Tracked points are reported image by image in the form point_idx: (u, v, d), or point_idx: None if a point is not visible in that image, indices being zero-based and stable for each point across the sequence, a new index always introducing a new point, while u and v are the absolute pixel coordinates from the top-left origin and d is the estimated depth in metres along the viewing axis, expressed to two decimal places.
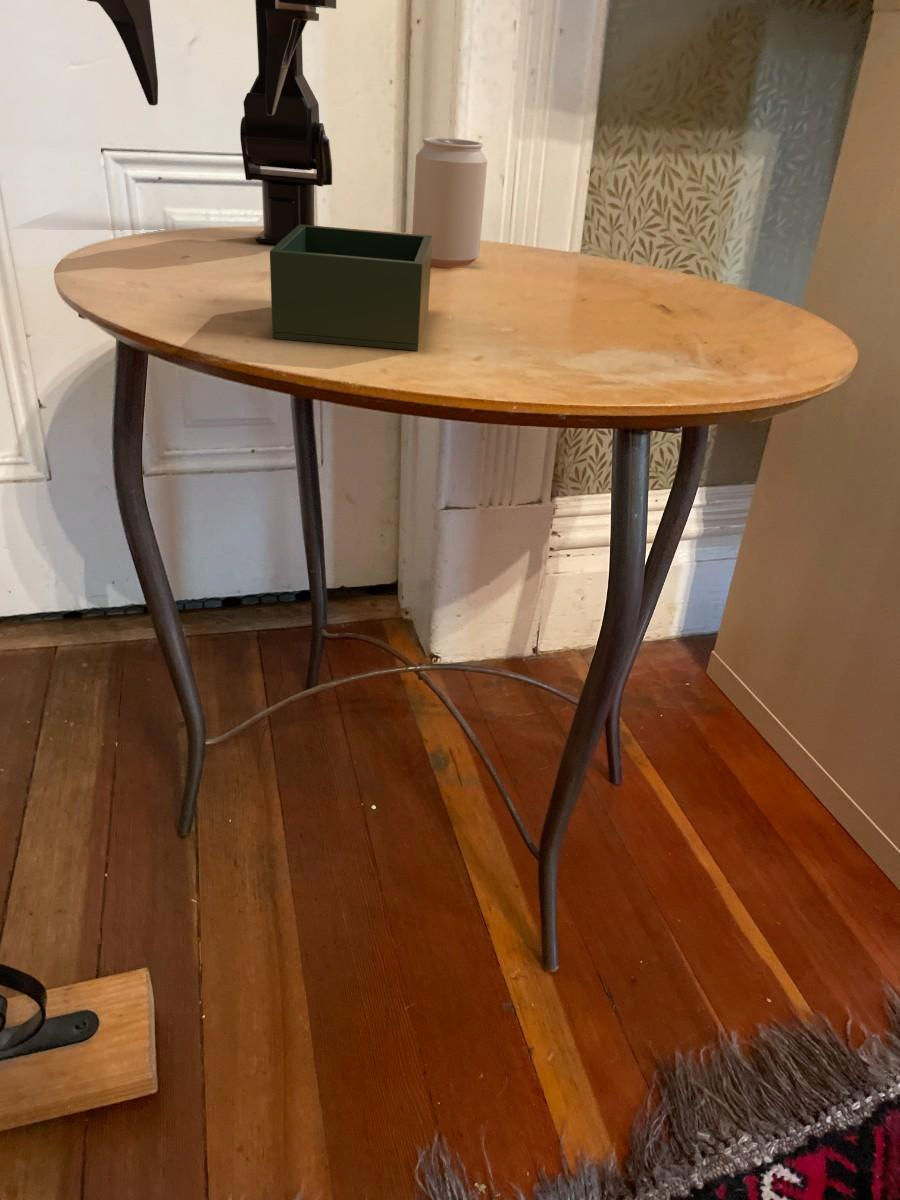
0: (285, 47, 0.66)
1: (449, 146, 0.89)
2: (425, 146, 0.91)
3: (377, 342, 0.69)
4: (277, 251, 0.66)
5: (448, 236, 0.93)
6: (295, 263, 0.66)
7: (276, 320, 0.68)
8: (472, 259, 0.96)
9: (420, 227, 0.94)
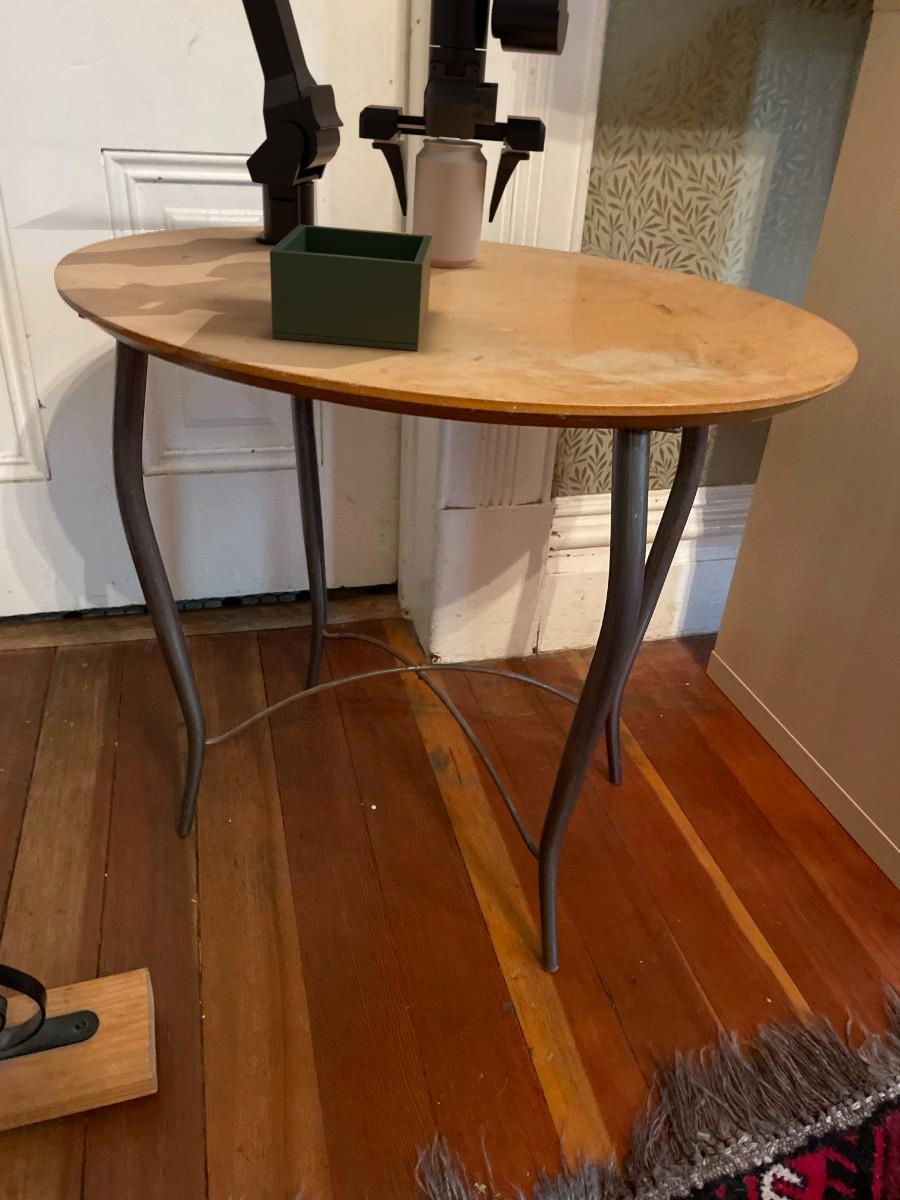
0: (509, 177, 0.92)
1: (449, 147, 0.89)
2: (425, 147, 0.91)
3: (377, 342, 0.69)
4: (277, 251, 0.66)
5: (448, 237, 0.93)
6: (295, 263, 0.66)
7: (276, 320, 0.68)
8: (472, 259, 0.96)
9: (420, 228, 0.94)
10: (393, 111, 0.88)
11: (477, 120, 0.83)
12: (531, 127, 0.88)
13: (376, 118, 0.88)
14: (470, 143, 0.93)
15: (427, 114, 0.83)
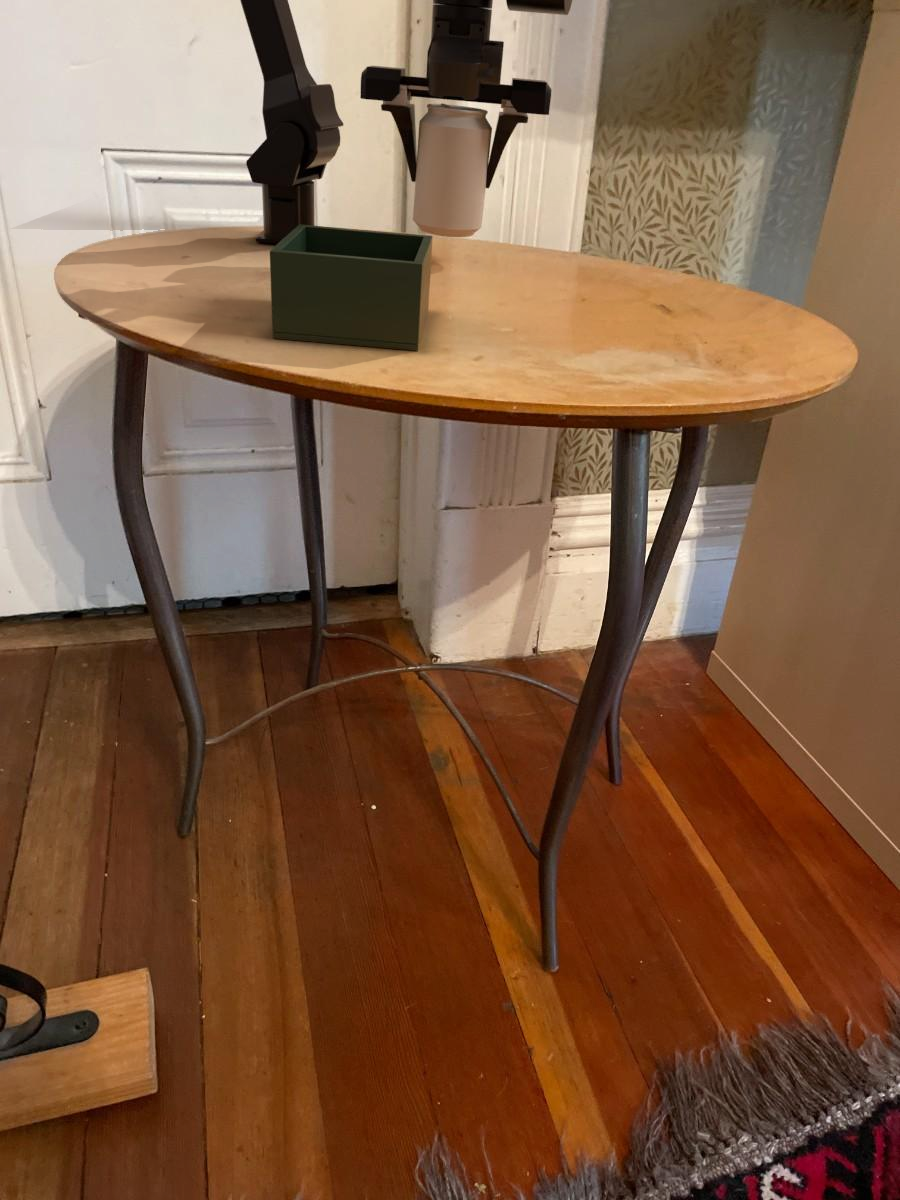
0: (507, 141, 0.90)
1: (454, 111, 0.87)
2: (429, 111, 0.89)
3: (377, 342, 0.69)
4: (277, 251, 0.66)
5: (450, 204, 0.91)
6: (295, 263, 0.66)
7: (276, 320, 0.68)
8: (474, 229, 0.94)
9: (422, 195, 0.92)
10: (396, 71, 0.86)
11: (482, 79, 0.81)
12: (536, 89, 0.86)
13: (378, 78, 0.86)
14: (475, 110, 0.92)
15: (431, 72, 0.81)
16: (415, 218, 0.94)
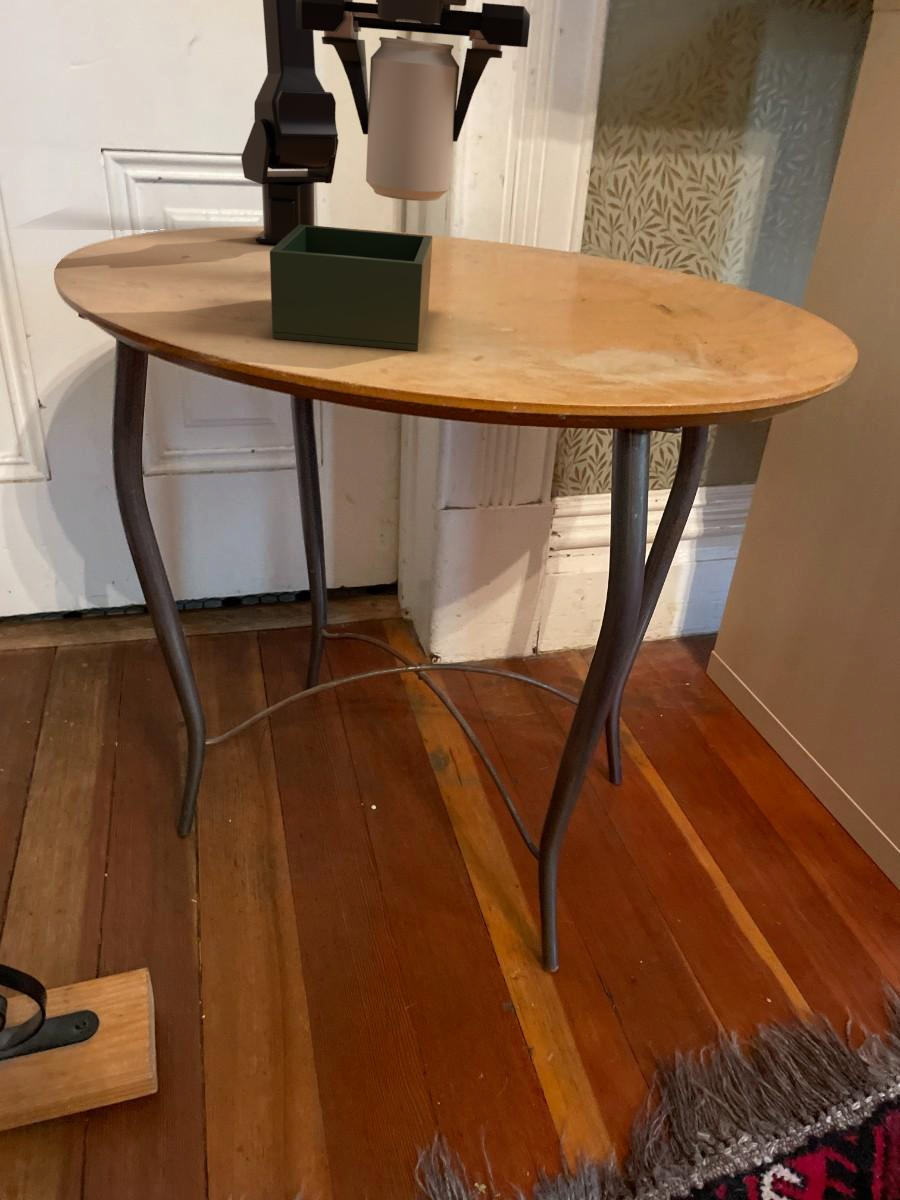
0: (477, 82, 0.74)
1: (412, 43, 0.71)
2: (382, 45, 0.73)
3: (377, 342, 0.69)
4: (277, 251, 0.66)
5: (410, 160, 0.75)
6: (295, 263, 0.66)
7: (276, 320, 0.68)
8: (440, 191, 0.78)
9: (375, 149, 0.76)
10: None
11: None
12: (512, 14, 0.70)
13: (317, 2, 0.70)
14: None
15: None
16: (368, 178, 0.78)
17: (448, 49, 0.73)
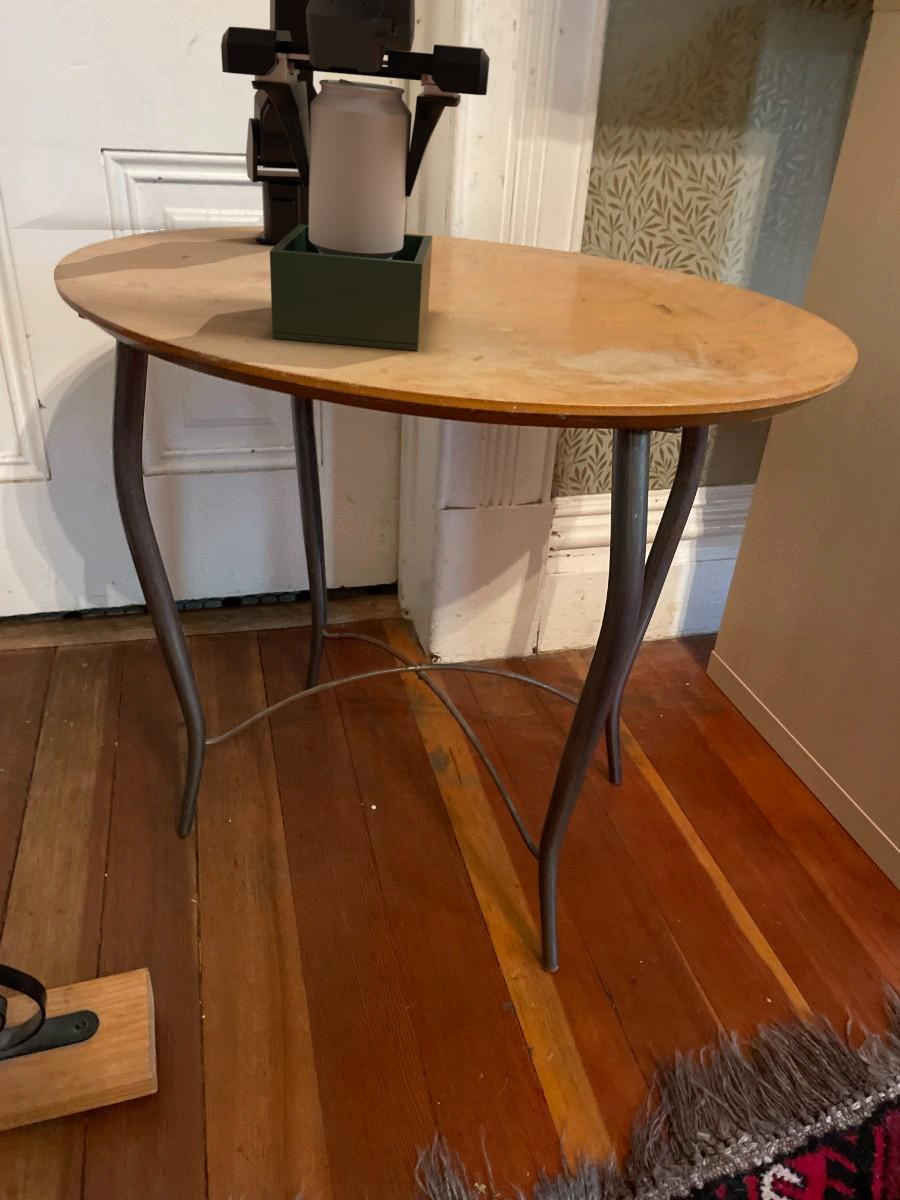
0: (430, 132, 0.65)
1: (353, 90, 0.62)
2: (322, 90, 0.64)
3: (377, 342, 0.69)
4: (277, 251, 0.66)
5: (354, 219, 0.66)
6: (295, 263, 0.66)
7: (276, 320, 0.68)
8: (391, 252, 0.69)
9: (316, 206, 0.67)
10: (269, 32, 0.61)
11: (382, 42, 0.57)
12: (467, 58, 0.61)
13: (245, 43, 0.61)
14: (389, 88, 0.67)
15: (309, 33, 0.57)
16: (310, 237, 0.69)
17: (397, 95, 0.64)
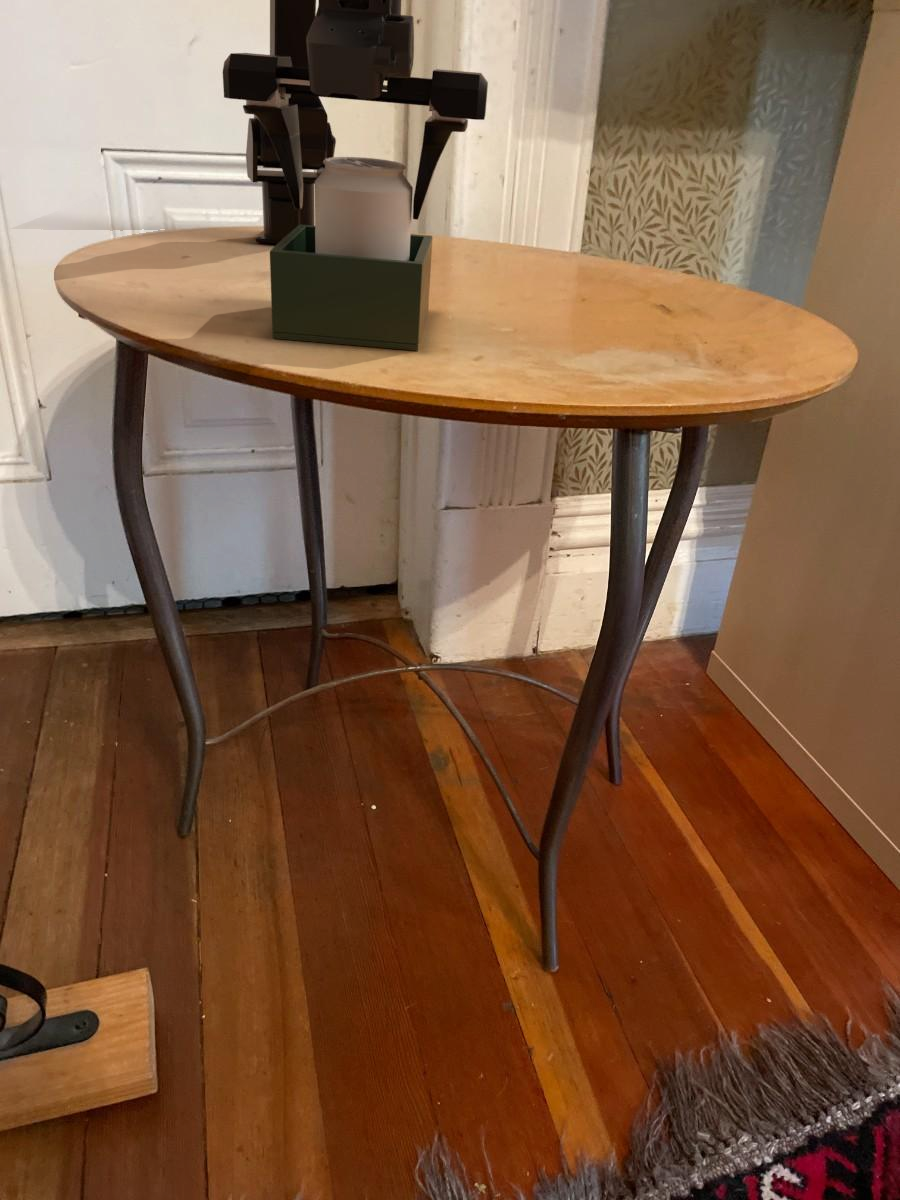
0: (438, 156, 0.66)
1: (356, 170, 0.65)
2: (326, 169, 0.67)
3: (377, 342, 0.69)
4: (277, 251, 0.66)
5: None
6: (295, 263, 0.66)
7: (276, 320, 0.68)
8: None
9: None
10: (270, 59, 0.62)
11: (382, 70, 0.57)
12: (466, 84, 0.62)
13: (246, 69, 0.62)
14: (390, 164, 0.69)
15: (310, 60, 0.57)
16: None
17: (398, 172, 0.67)
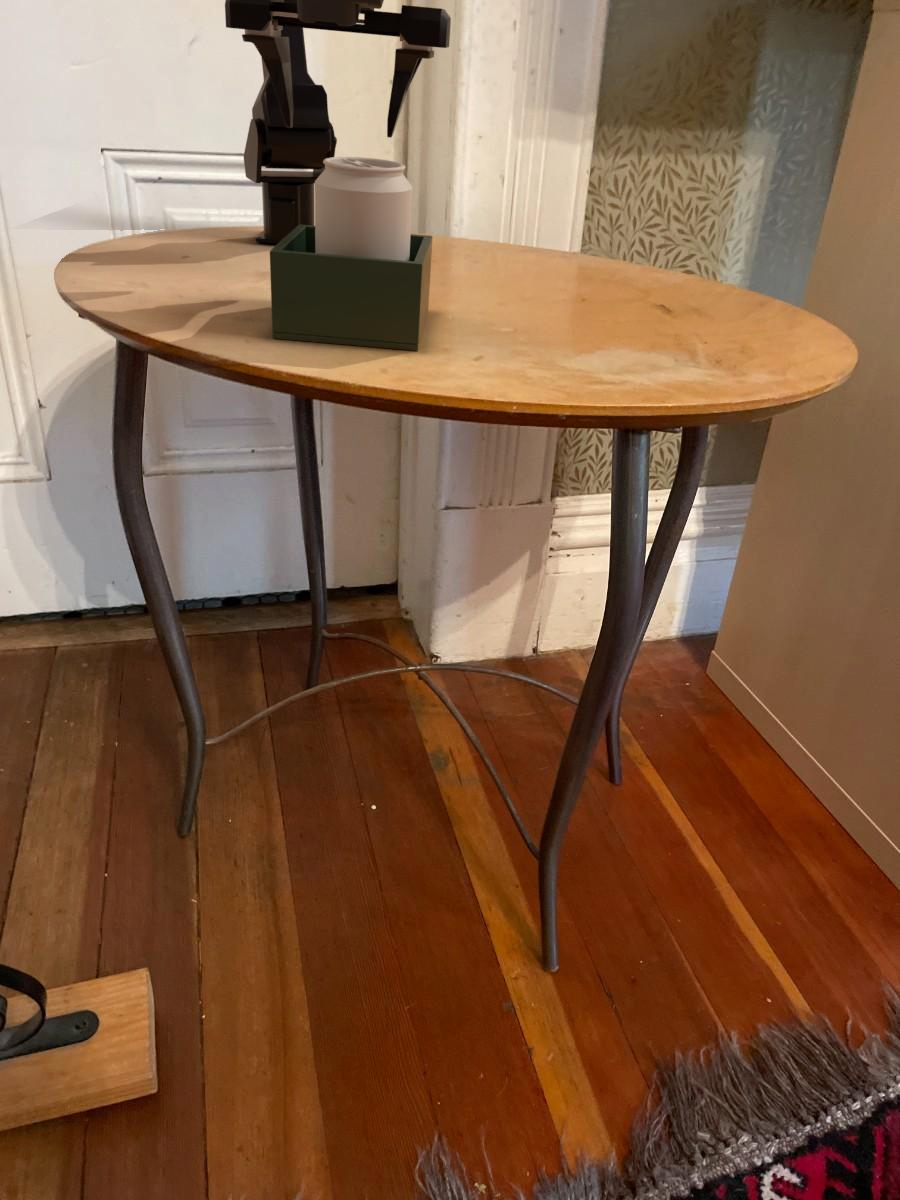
0: (408, 81, 0.77)
1: (356, 170, 0.65)
2: (326, 169, 0.67)
3: (377, 342, 0.69)
4: (277, 251, 0.66)
5: None
6: (295, 263, 0.66)
7: (276, 320, 0.68)
8: None
9: None
10: None
11: (357, 0, 0.69)
12: (429, 16, 0.73)
13: (244, 2, 0.74)
14: (390, 164, 0.69)
15: None
16: None
17: (398, 172, 0.67)
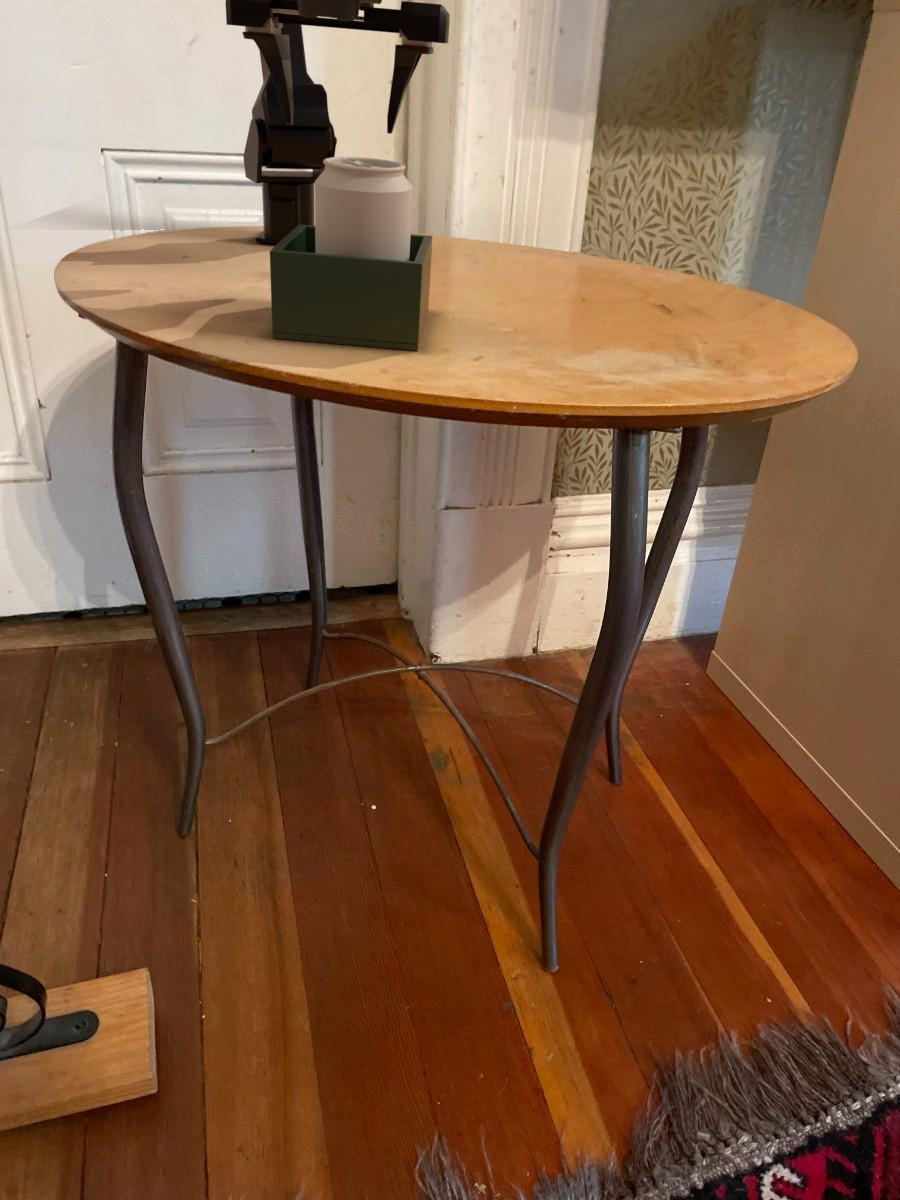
0: (408, 76, 0.78)
1: (356, 170, 0.65)
2: (326, 169, 0.67)
3: (377, 342, 0.69)
4: (277, 251, 0.66)
5: None
6: (295, 263, 0.66)
7: (276, 320, 0.68)
8: None
9: None
10: None
11: None
12: (429, 12, 0.74)
13: None
14: (390, 164, 0.69)
15: None
16: None
17: (398, 172, 0.67)
